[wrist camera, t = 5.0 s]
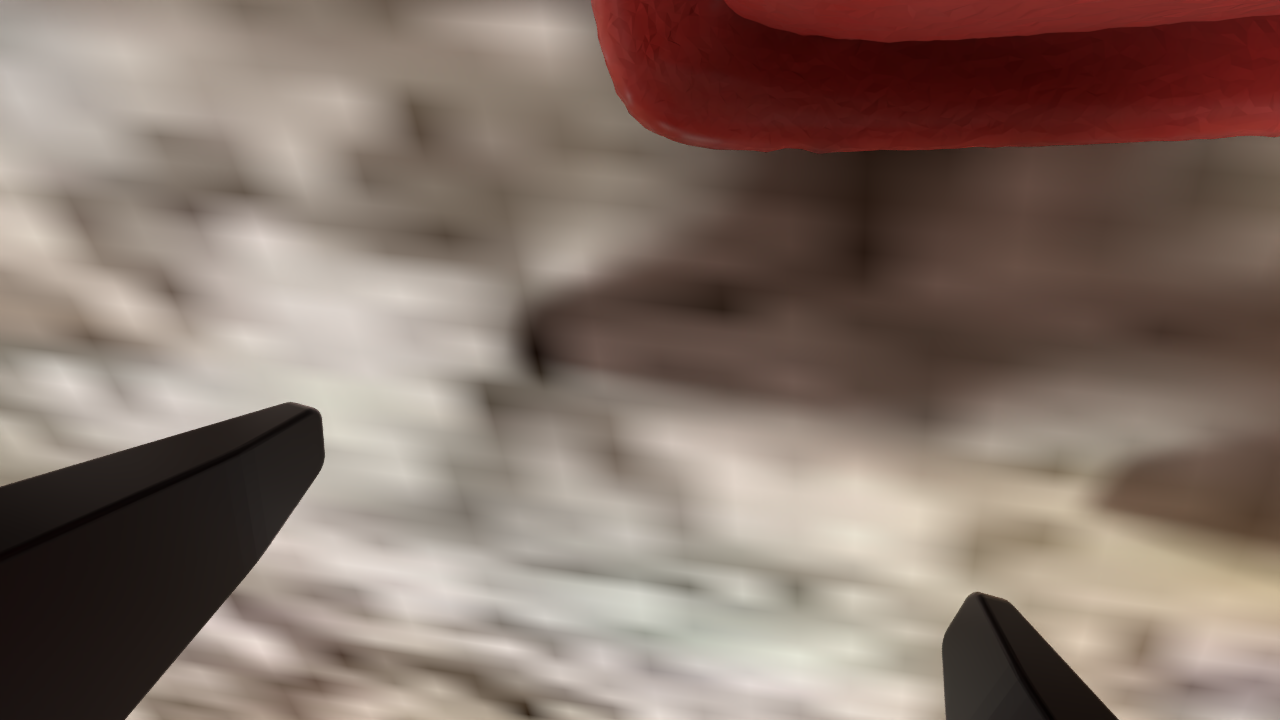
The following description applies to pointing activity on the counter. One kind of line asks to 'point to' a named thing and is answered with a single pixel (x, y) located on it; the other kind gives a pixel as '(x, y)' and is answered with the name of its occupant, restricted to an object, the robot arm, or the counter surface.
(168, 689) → the counter surface
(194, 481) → the robot arm
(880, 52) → the butter dish
